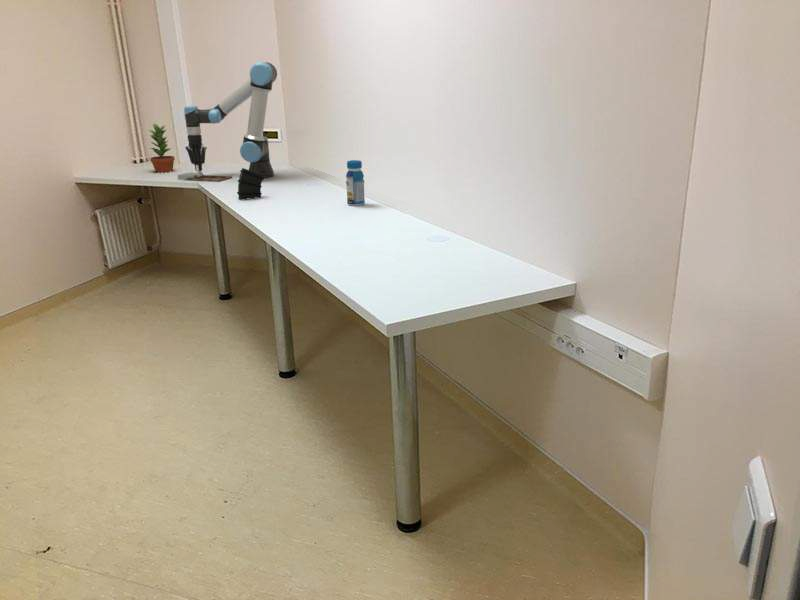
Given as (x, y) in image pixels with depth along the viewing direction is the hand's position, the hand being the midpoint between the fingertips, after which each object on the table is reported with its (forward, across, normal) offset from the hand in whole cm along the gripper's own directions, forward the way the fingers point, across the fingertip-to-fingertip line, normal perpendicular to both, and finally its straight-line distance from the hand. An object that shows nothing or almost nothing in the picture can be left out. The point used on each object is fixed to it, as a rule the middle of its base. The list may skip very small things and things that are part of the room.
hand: (199, 176), depth 360 cm
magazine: (+3, +57, -38) cm, 69 cm away
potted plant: (+3, -43, +24) cm, 50 cm away
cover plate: (+2, -6, 0) cm, 6 cm away
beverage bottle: (+2, +114, -40) cm, 121 cm away
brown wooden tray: (+3, +6, 0) cm, 6 cm away
